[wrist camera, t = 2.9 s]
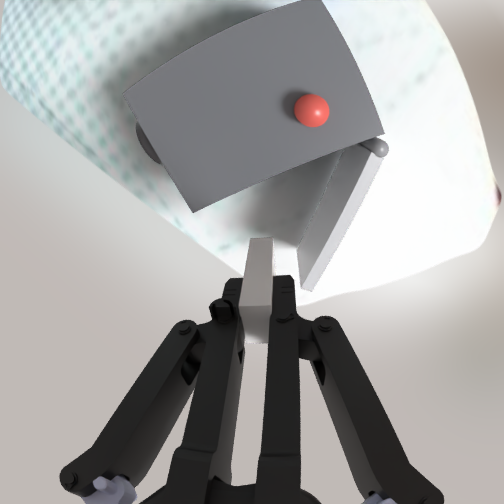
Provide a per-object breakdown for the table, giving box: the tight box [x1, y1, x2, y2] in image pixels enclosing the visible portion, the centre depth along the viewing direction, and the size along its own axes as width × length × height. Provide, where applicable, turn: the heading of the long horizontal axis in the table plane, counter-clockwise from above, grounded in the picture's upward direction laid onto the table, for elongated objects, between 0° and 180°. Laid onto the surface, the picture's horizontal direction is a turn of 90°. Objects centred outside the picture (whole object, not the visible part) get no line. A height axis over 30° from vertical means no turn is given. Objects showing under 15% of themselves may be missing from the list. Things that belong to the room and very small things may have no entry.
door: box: [297, 137, 389, 292], centre depth 21 cm, size 2×13×6 cm, turn 161°
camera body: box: [123, 0, 385, 213], centre depth 17 cm, size 10×15×8 cm, turn 116°
